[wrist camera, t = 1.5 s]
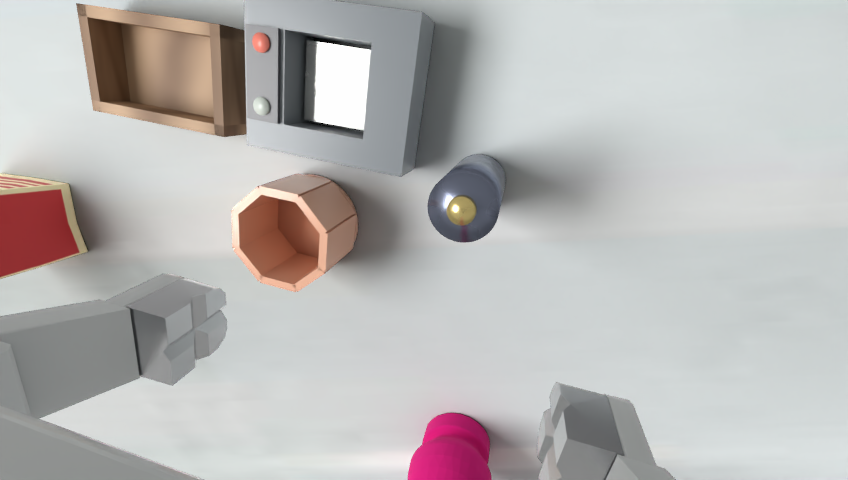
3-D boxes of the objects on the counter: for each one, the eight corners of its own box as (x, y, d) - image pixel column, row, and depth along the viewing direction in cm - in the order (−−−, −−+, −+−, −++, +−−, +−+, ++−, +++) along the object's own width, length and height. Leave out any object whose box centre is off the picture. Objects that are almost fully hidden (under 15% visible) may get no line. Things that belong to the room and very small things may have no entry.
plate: (382, 52, 27) (378, 50, 26) (374, 131, 29) (371, 131, 28) (312, 41, 28) (306, 40, 27) (309, 118, 30) (304, 119, 29)
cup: (362, 184, 31) (330, 201, 26) (354, 270, 34) (324, 300, 29) (275, 166, 33) (229, 178, 28) (275, 250, 36) (233, 275, 30)
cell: (511, 159, 28) (505, 183, 20) (498, 212, 29) (489, 252, 22) (457, 149, 29) (431, 168, 21) (447, 201, 30) (420, 237, 22)
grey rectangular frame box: (434, 22, 26) (420, 10, 23) (414, 168, 30) (399, 178, 26) (275, 1, 28) (239, -13, 25) (274, 140, 32) (242, 145, 28)
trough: (251, 32, 29) (219, 24, 26) (253, 133, 32) (224, 136, 29) (120, 12, 31) (76, 3, 28) (132, 109, 34) (93, 110, 31)
